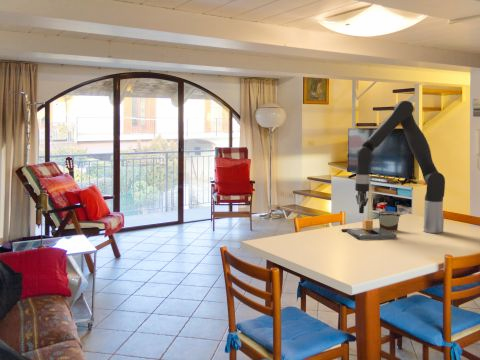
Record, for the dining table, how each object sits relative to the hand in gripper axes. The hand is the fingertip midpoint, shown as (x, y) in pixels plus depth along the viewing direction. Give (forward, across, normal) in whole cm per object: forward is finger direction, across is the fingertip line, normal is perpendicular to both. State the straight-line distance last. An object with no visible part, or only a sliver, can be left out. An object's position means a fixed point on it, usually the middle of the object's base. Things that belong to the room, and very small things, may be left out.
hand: (361, 213), depth 265 cm
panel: (+10, -14, 0) cm, 17 cm away
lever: (+10, -9, 0) cm, 13 cm away
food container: (+10, -1, -15) cm, 18 cm away
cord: (+10, -14, +10) cm, 20 cm away
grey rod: (+10, -3, +7) cm, 12 cm away
